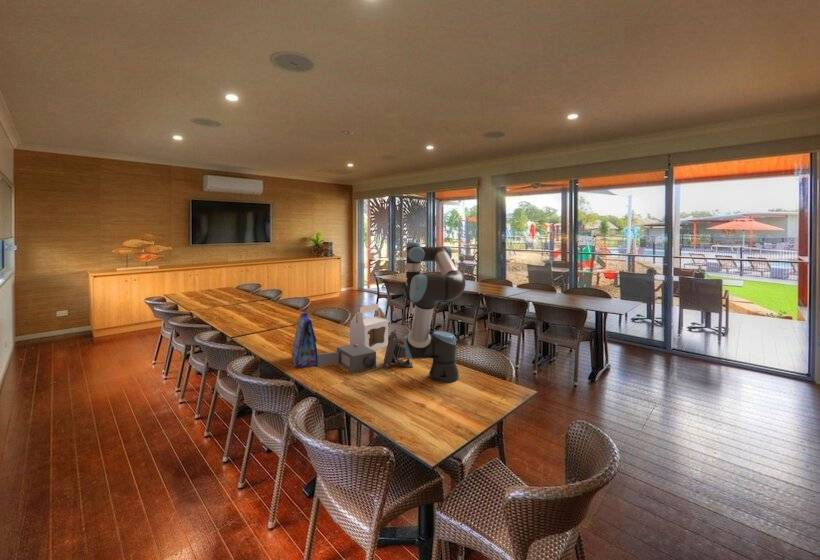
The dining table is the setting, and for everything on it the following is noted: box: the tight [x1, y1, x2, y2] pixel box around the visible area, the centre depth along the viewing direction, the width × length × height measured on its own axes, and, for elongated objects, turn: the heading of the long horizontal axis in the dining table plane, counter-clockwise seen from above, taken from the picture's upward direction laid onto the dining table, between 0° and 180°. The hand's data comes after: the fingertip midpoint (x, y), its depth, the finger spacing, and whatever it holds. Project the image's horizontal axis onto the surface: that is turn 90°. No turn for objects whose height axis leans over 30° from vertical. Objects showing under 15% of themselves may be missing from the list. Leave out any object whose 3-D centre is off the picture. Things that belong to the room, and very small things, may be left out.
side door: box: [317, 351, 341, 367], centre depth 213 cm, size 13×2×7 cm, turn 116°
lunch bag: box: [291, 311, 319, 369], centre depth 220 cm, size 22×14×29 cm, turn 22°
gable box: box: [349, 302, 389, 351], centre depth 248 cm, size 22×13×28 cm, turn 141°
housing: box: [336, 343, 377, 373], centre depth 215 cm, size 22×14×10 cm, turn 35°
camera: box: [383, 329, 414, 369], centre depth 216 cm, size 11×17×20 cm, turn 90°
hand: (412, 313), depth 215 cm, fingers closed
